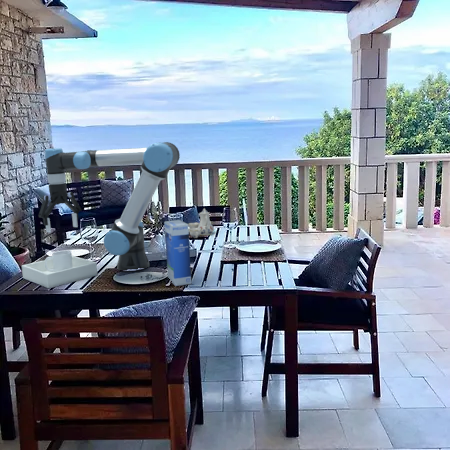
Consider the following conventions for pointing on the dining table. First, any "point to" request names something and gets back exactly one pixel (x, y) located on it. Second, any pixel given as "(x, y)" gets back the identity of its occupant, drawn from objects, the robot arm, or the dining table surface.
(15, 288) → the dining table surface
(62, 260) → the cup
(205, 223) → the chinaware
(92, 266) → the box
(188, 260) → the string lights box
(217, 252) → the dining table surface
